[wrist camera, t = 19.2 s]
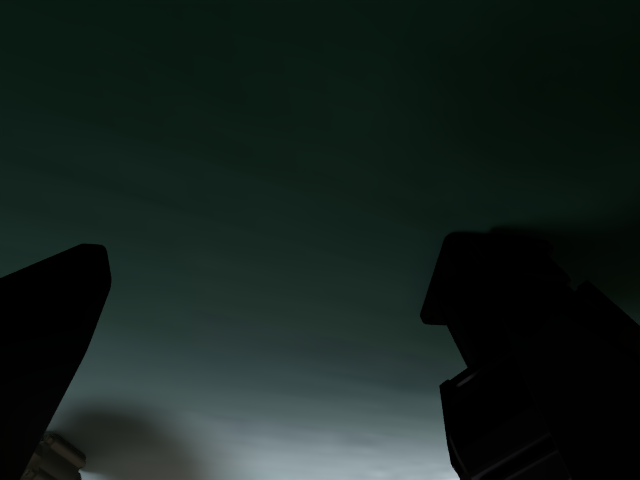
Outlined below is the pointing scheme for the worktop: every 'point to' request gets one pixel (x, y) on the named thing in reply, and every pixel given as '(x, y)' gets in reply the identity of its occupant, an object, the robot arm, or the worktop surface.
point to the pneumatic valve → (54, 461)
